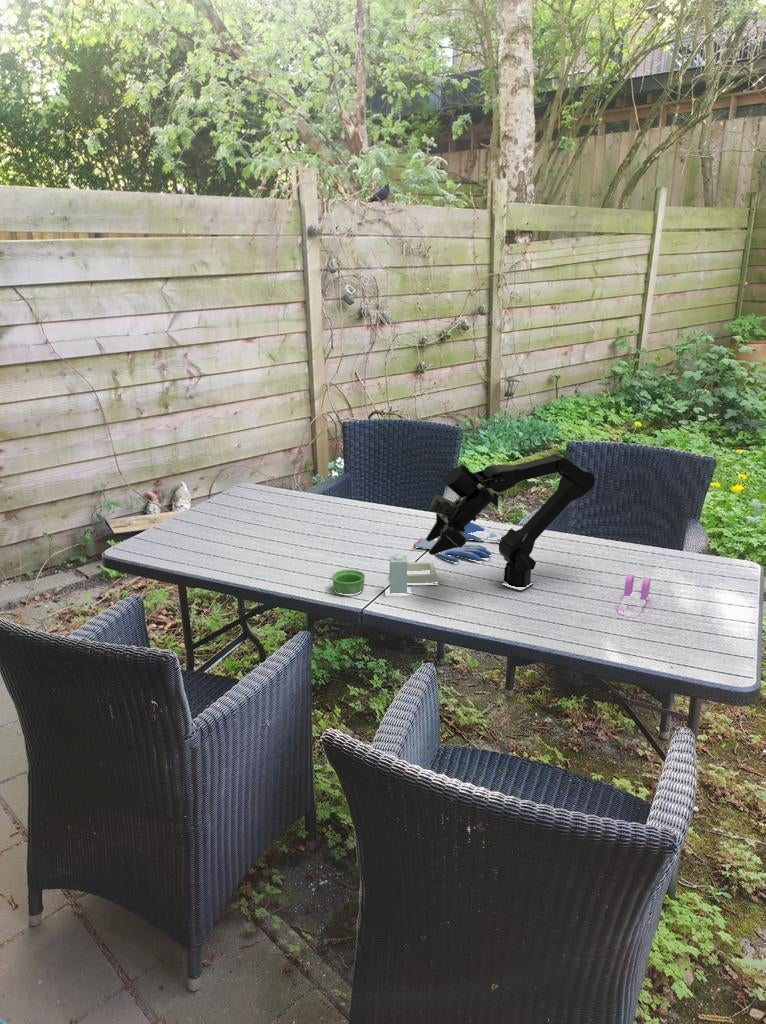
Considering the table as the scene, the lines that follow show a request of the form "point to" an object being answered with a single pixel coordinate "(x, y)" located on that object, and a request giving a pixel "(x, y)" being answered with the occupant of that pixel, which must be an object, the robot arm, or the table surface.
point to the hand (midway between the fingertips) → (428, 546)
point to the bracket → (630, 587)
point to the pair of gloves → (466, 550)
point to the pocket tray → (421, 577)
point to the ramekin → (348, 581)
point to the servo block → (398, 574)
